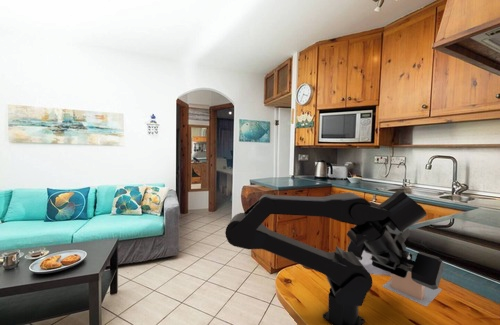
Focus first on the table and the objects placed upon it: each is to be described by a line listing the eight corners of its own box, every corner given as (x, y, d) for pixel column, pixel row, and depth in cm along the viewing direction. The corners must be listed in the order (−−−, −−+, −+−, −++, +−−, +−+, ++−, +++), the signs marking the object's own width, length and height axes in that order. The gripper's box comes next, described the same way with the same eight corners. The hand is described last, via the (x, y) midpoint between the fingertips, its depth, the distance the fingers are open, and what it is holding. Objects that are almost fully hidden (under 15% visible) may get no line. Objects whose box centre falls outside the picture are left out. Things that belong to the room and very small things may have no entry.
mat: (426, 307, 52) (426, 306, 52) (381, 287, 61) (381, 286, 61) (442, 290, 59) (442, 289, 59) (399, 274, 67) (399, 273, 67)
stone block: (365, 281, 67) (401, 277, 65) (361, 265, 67) (397, 261, 65) (354, 263, 78) (385, 260, 76) (351, 250, 79) (381, 246, 77)
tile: (421, 300, 54) (421, 268, 54) (390, 286, 60) (390, 257, 60) (424, 297, 56) (425, 265, 55) (394, 283, 61) (394, 255, 61)
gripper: (441, 219, 44) (458, 259, 50) (353, 203, 59) (374, 235, 66) (425, 271, 40) (445, 306, 46) (334, 239, 55) (359, 269, 62)
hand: (400, 273), depth 55 cm, fingers closed
